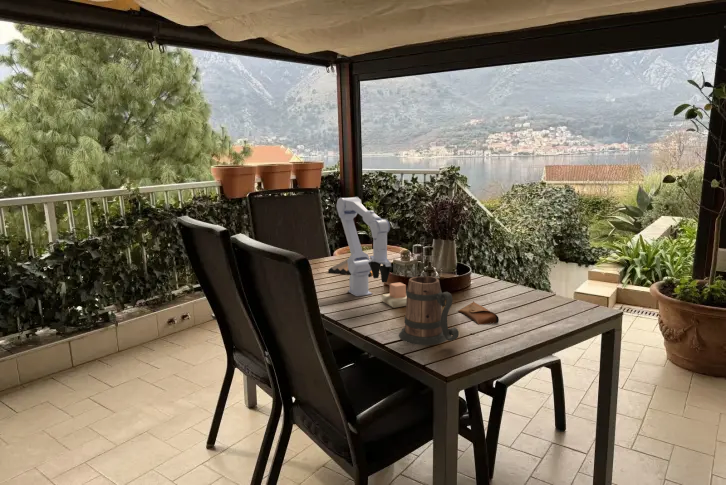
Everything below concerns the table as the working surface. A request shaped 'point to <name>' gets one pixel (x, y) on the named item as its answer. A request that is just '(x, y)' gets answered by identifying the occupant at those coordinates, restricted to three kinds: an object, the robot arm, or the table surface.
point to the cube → (397, 290)
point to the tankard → (427, 313)
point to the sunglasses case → (479, 314)
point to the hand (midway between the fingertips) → (380, 280)
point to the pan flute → (342, 268)
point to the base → (394, 300)
